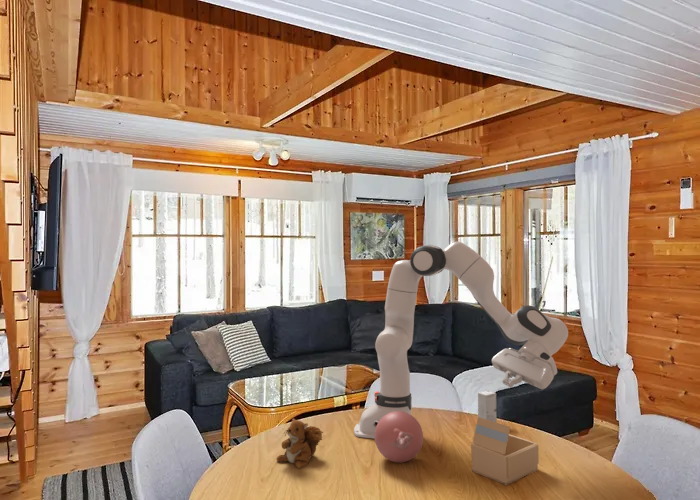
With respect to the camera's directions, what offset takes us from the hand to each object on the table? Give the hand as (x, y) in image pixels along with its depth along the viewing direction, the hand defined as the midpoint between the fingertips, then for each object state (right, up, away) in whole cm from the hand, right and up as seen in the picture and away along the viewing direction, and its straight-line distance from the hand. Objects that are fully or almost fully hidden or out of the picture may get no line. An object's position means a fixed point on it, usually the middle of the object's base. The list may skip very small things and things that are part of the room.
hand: (506, 384), depth 159 cm
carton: (-3, -24, -7) cm, 25 cm away
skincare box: (+3, -25, +35) cm, 43 cm away
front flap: (-8, -12, -11) cm, 18 cm away
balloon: (-34, -25, -1) cm, 42 cm away
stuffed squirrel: (-65, -25, +3) cm, 70 cm away
